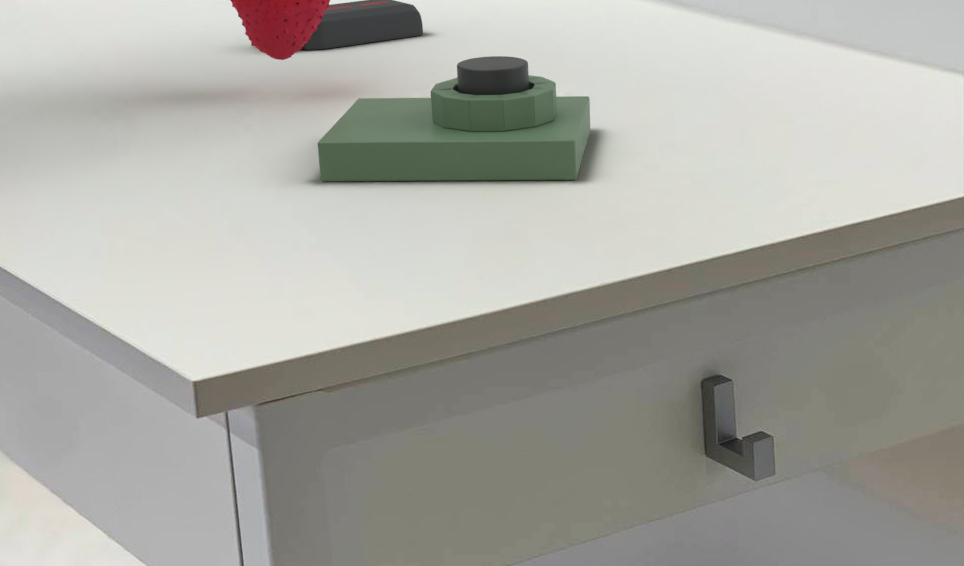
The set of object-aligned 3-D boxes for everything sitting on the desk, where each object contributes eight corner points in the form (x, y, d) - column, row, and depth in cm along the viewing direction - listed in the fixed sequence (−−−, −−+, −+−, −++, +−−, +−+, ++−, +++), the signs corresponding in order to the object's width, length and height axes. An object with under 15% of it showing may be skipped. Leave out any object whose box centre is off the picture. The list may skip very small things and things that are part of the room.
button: (453, 101, 90) (451, 70, 89) (463, 86, 93) (462, 56, 93) (525, 101, 90) (524, 69, 89) (532, 85, 93) (531, 55, 93)
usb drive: (423, 34, 129) (421, 0, 128) (286, 54, 123) (282, 17, 122) (391, 26, 133) (389, -8, 132) (256, 45, 127) (253, 9, 126)
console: (320, 181, 88) (314, 109, 87) (361, 133, 98) (355, 68, 97) (576, 180, 87) (574, 107, 86) (590, 132, 98) (588, 65, 96)
